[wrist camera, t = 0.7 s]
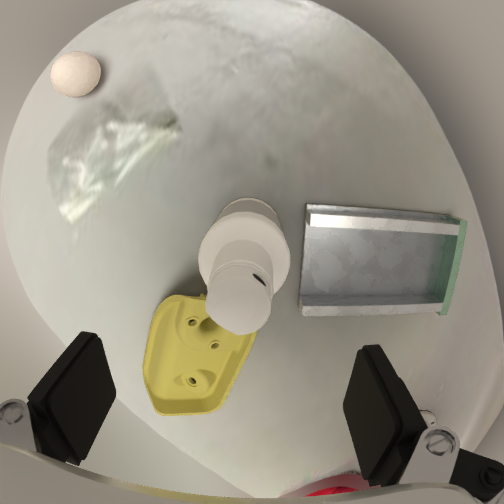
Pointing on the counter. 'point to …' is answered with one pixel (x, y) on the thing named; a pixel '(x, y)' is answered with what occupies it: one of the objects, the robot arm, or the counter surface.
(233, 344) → the plastic component
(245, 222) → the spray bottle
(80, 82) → the egg
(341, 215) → the rail cradle
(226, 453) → the counter surface
